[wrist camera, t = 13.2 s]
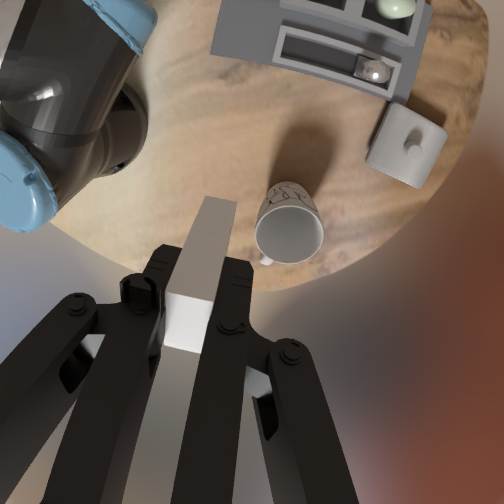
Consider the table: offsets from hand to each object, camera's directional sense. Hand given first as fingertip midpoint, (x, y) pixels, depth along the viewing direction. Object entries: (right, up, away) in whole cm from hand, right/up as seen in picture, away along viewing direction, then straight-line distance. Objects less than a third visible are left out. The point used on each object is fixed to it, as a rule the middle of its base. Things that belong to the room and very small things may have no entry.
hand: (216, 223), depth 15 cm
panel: (+11, +28, +16) cm, 34 cm away
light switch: (+23, +14, +24) cm, 36 cm away
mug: (+6, +5, +32) cm, 33 cm away
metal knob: (+16, +21, +18) cm, 32 cm away
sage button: (+17, +27, +10) cm, 33 cm away
